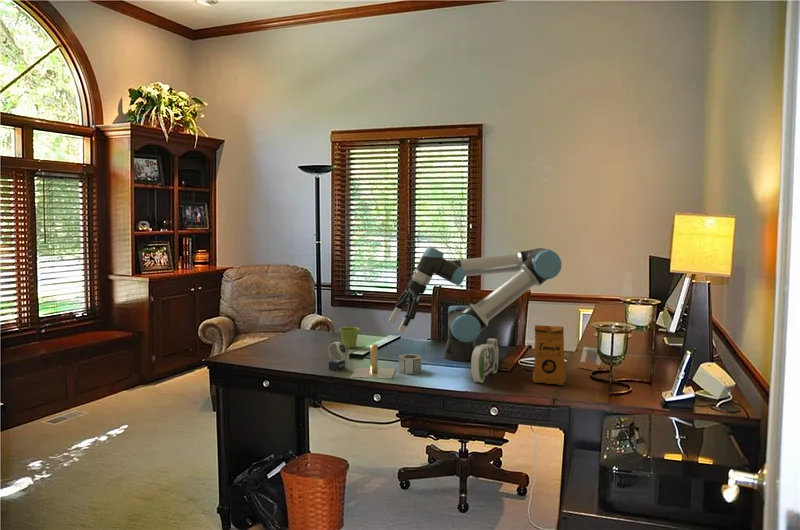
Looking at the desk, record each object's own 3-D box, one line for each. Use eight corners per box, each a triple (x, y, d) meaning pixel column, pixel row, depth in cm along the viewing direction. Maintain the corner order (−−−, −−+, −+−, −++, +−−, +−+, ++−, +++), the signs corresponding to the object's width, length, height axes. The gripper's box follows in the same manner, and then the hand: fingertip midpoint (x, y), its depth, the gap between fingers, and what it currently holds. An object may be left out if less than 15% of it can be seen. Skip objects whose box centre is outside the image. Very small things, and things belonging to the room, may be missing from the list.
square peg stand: (395, 369, 257) (396, 342, 256) (391, 378, 243) (391, 349, 242) (357, 368, 259) (357, 341, 258) (350, 377, 245) (350, 348, 244)
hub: (422, 368, 258) (422, 354, 258) (420, 374, 249) (420, 359, 249) (400, 368, 259) (400, 353, 259) (397, 373, 250) (397, 358, 250)
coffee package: (564, 388, 231) (566, 329, 229) (530, 384, 236) (532, 326, 234) (567, 381, 241) (568, 324, 239) (534, 378, 245) (535, 322, 243)
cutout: (492, 337, 256) (471, 344, 234) (499, 337, 255) (478, 344, 232) (491, 374, 256) (470, 384, 234) (497, 374, 255) (477, 385, 233)
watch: (341, 371, 253) (341, 344, 252) (325, 369, 257) (325, 342, 256) (349, 368, 258) (349, 342, 257) (332, 366, 262) (332, 340, 261)
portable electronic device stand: (577, 368, 260) (578, 348, 259) (586, 365, 265) (586, 345, 265) (597, 372, 254) (597, 352, 253) (605, 368, 260) (606, 349, 259)
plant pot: (358, 349, 294) (358, 330, 293) (338, 349, 294) (338, 330, 293) (360, 344, 303) (360, 327, 302) (340, 344, 303) (340, 327, 302)
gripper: (403, 271, 272) (380, 314, 274) (421, 286, 249) (396, 333, 251) (417, 278, 275) (395, 320, 277) (436, 293, 252) (412, 340, 253)
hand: (396, 326), depth 264 cm, fingers open, 13 cm apart
